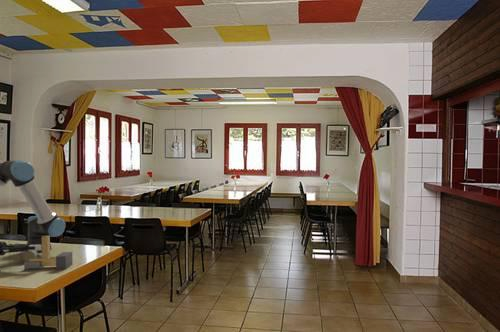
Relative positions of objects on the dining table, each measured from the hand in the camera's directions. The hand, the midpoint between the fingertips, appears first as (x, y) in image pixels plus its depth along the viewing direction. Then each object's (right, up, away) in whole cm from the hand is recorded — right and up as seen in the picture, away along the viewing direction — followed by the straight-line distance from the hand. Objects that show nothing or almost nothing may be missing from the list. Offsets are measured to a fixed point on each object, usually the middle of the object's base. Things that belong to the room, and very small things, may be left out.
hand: (41, 247), depth 212 cm
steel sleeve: (-4, -11, +1) cm, 12 cm away
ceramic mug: (-14, -12, +16) cm, 25 cm away
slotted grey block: (+11, -11, +2) cm, 16 cm away
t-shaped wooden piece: (+1, -10, +1) cm, 10 cm away
